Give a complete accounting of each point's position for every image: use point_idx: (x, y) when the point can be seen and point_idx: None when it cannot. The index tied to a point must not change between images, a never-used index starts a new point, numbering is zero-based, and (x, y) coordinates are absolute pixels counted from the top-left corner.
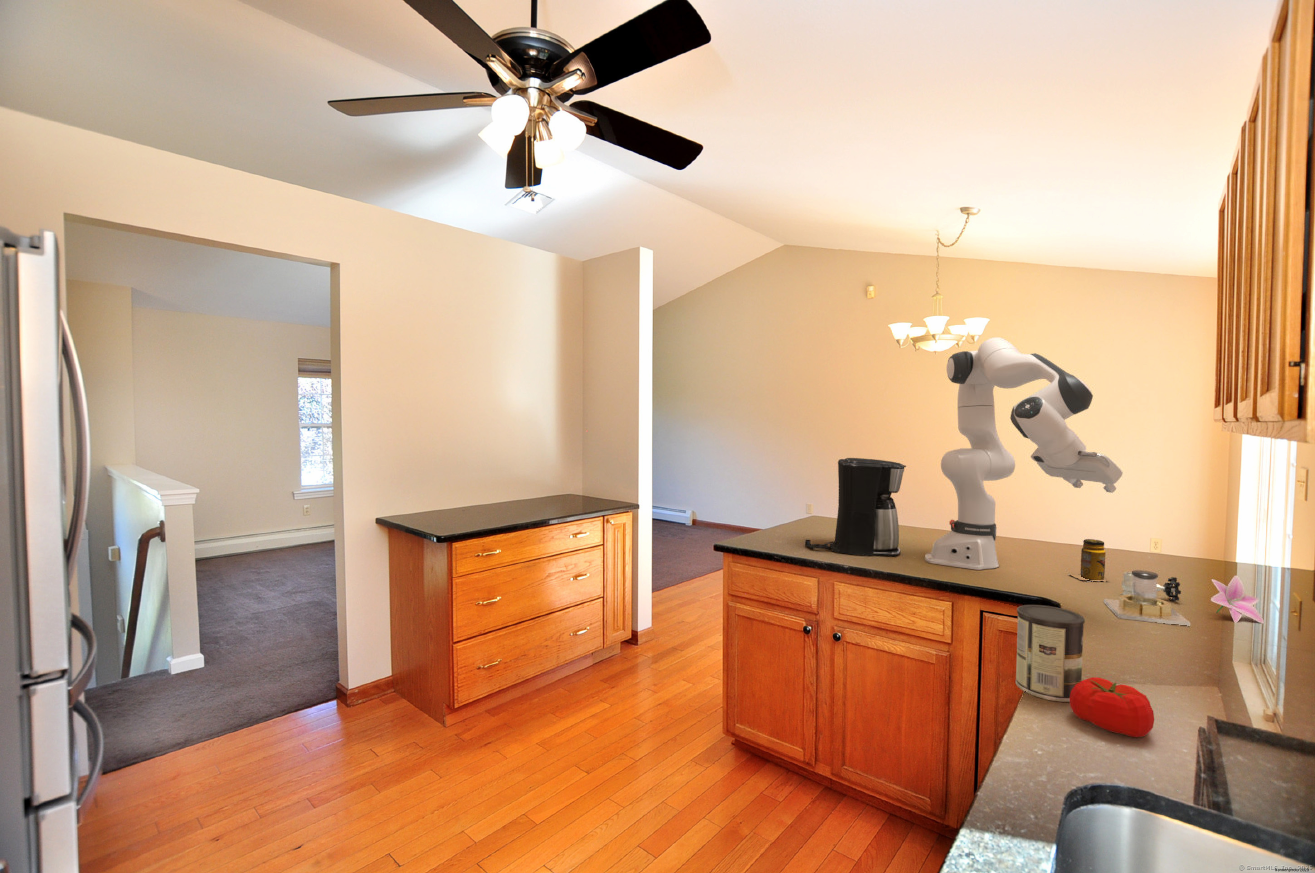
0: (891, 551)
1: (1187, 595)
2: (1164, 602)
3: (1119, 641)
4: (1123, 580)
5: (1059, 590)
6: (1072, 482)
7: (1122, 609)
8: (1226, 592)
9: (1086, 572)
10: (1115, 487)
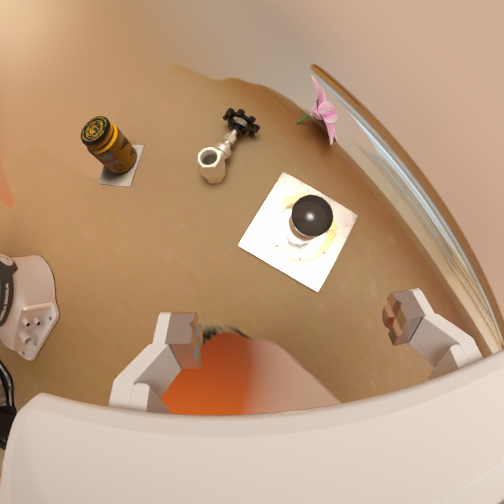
0: (4, 380)
1: (220, 95)
2: None
3: (394, 365)
4: (204, 172)
5: (168, 269)
6: (174, 371)
7: (296, 264)
8: (317, 108)
9: (119, 168)
10: (420, 292)
